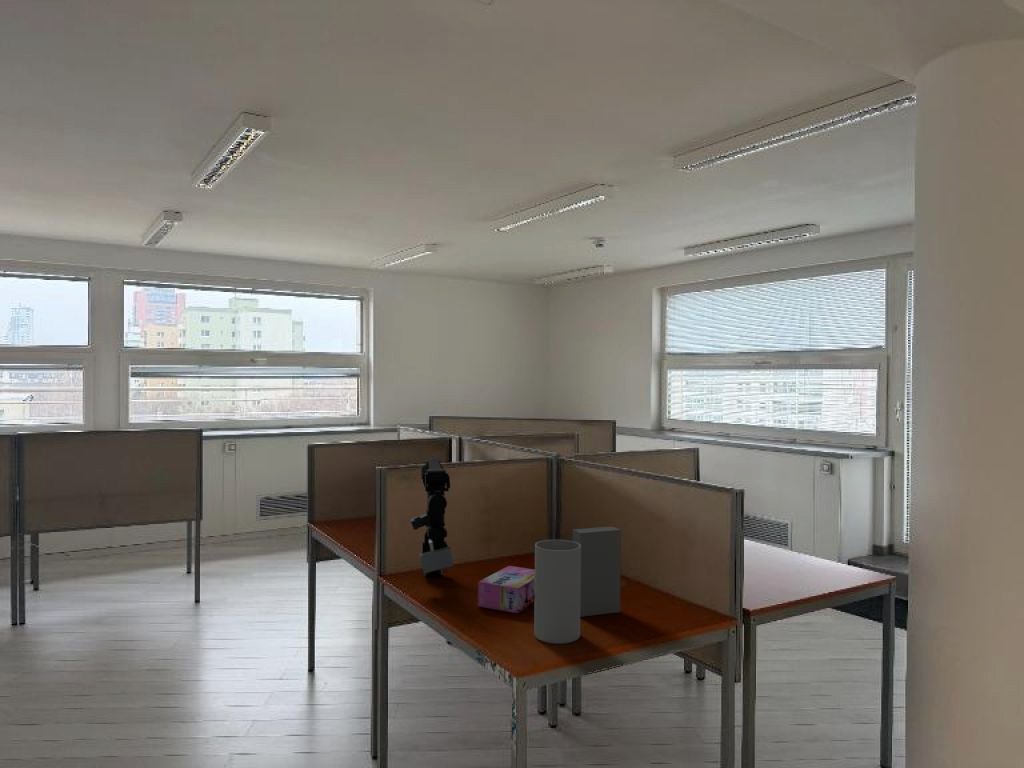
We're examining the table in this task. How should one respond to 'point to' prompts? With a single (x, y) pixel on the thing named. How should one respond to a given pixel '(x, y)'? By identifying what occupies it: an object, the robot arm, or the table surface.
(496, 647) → the table surface
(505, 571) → the gum box
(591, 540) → the upright grey panel
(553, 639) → the cylinder vase
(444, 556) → the pusher
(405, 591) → the table surface
